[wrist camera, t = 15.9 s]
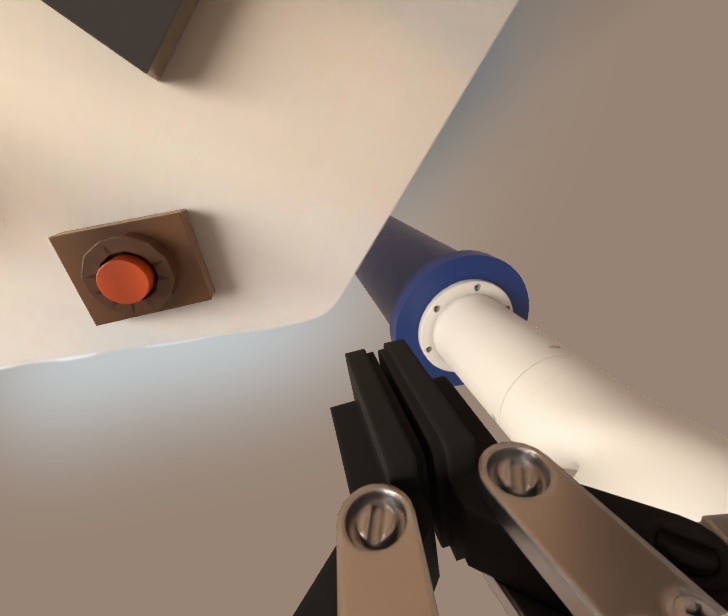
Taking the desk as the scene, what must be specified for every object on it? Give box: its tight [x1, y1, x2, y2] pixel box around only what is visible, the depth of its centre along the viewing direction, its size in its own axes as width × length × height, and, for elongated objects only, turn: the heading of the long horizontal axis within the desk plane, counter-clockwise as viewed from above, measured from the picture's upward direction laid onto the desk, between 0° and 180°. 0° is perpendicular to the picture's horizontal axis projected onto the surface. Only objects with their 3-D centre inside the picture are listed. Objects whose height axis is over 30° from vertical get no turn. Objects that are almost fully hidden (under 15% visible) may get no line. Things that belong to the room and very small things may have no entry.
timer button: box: [96, 255, 155, 304], centre depth 29 cm, size 4×4×2 cm
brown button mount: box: [49, 209, 215, 326], centre depth 31 cm, size 10×8×4 cm
